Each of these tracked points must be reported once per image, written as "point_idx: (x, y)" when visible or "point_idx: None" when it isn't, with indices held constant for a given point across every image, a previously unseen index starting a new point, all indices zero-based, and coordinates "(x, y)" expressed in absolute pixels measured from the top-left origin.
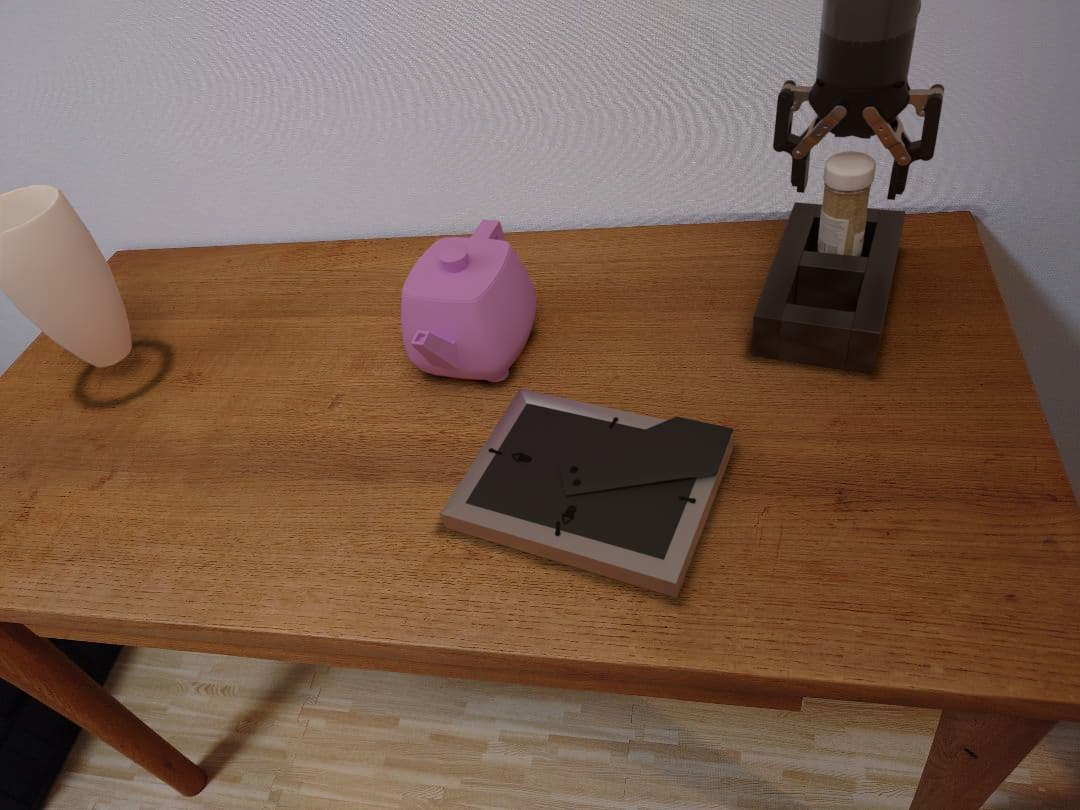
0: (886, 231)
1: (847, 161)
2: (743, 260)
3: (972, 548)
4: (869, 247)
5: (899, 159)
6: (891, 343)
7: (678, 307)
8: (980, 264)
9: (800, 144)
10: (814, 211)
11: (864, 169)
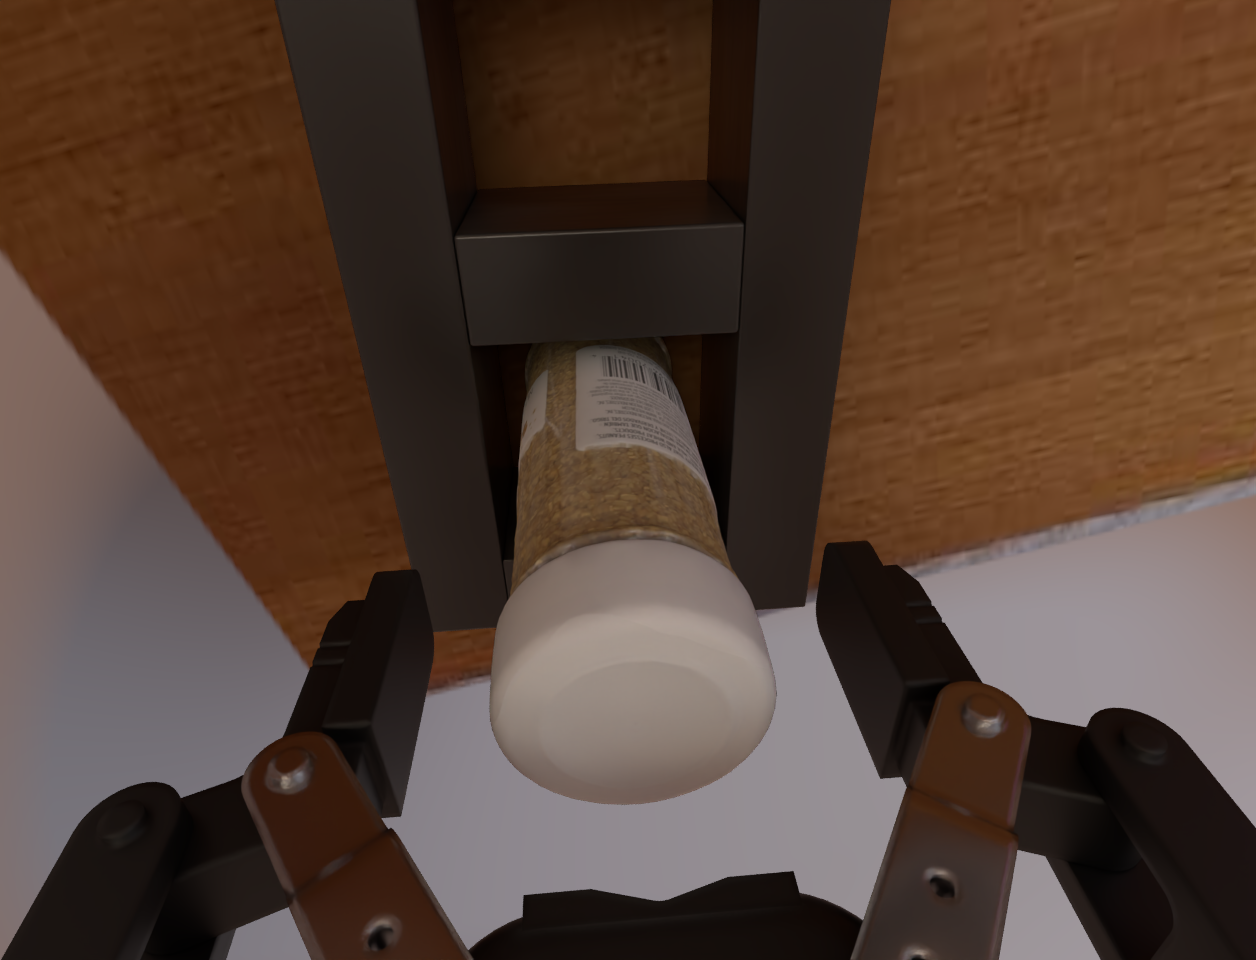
0: (452, 517)
1: (654, 726)
2: (908, 386)
3: None
4: None
5: (317, 768)
6: None
7: (1154, 38)
8: (206, 526)
9: (1008, 777)
10: None
11: (536, 676)
